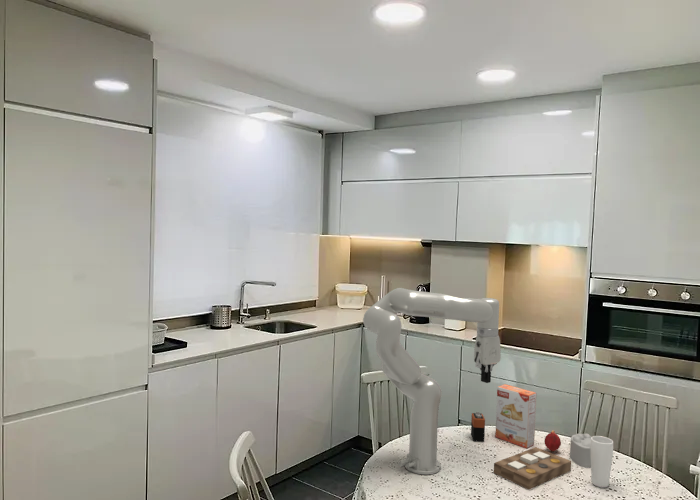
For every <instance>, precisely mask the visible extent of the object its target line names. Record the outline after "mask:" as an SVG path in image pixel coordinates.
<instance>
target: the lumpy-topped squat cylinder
mask: <svg viewBox="0 0 700 500" xmlns="http://www.w3.org/2000/svg"><path fill="white" fill-rule="evenodd" d="M591 437H592V436H591V435H590V434H589V433H576V434H572V436H571V437H570V446H569V447H570V448H569V449H570V450H569V459H570V461H571V462H573V463H575V464H576V465H577V466H578V467H581V468H586V469H591V454H590V446H591Z"/></svg>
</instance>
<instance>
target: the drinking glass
mask: <svg viewBox="0 0 700 500" xmlns="http://www.w3.org/2000/svg"><path fill="white" fill-rule="evenodd" d="M590 454H591V468H590V473H591V475H590V476H591V478H590V479H591V480H590V481H591V484H592V485H594V487H595V486H596V487H598V488H608V487H609V485H610V478H611V477H610V476H611V469H612V463H613V455H614V440H613V439H611V438H609V437H607V436H601V435H593V436H591V446H590Z"/></svg>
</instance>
